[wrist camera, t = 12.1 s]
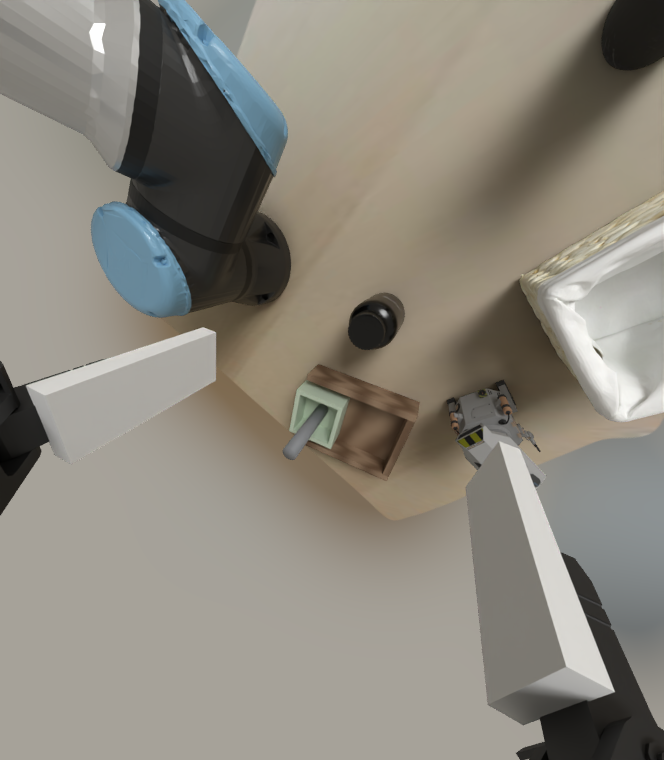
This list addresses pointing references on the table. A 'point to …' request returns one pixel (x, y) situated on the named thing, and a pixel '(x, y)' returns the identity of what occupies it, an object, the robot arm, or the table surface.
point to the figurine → (489, 426)
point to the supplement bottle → (376, 321)
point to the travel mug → (634, 33)
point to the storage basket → (609, 311)
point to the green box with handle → (315, 417)
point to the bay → (367, 423)
